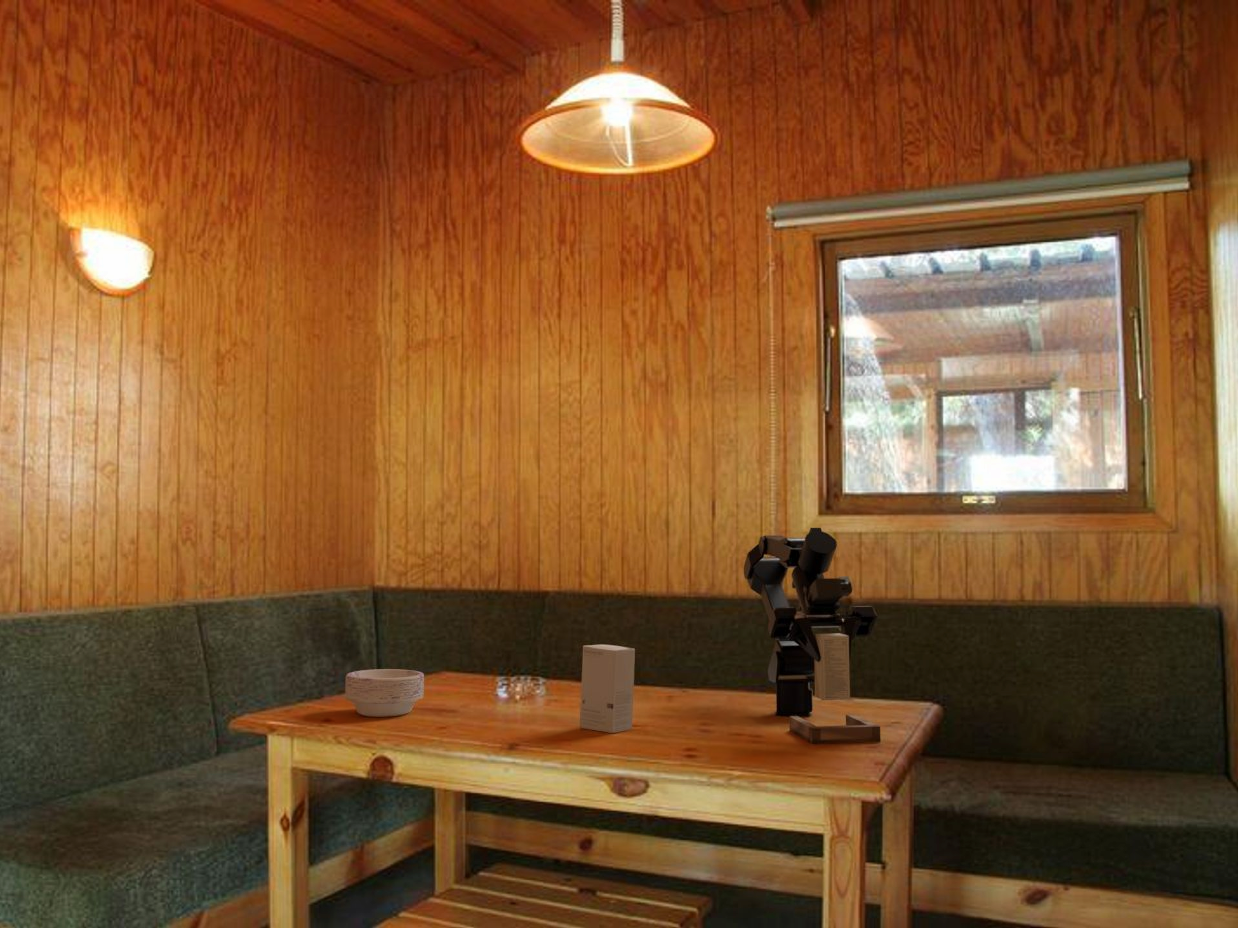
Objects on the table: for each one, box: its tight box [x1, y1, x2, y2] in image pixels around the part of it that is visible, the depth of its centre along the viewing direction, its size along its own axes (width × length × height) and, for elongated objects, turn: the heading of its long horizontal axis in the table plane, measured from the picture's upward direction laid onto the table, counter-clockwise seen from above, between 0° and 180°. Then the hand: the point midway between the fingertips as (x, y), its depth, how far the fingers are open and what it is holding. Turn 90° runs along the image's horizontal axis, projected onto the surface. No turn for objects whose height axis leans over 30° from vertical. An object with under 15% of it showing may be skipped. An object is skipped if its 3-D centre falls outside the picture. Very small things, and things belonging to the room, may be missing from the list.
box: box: [813, 632, 851, 701], centre depth 181 cm, size 5×4×11 cm
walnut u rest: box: [788, 713, 882, 745], centre depth 181 cm, size 12×12×2 cm
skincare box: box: [579, 644, 636, 734], centre depth 189 cm, size 8×6×15 cm
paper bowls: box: [344, 668, 425, 718], centre depth 206 cm, size 15×15×8 cm
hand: (834, 659), depth 180 cm, fingers closed on box, 5 cm apart
